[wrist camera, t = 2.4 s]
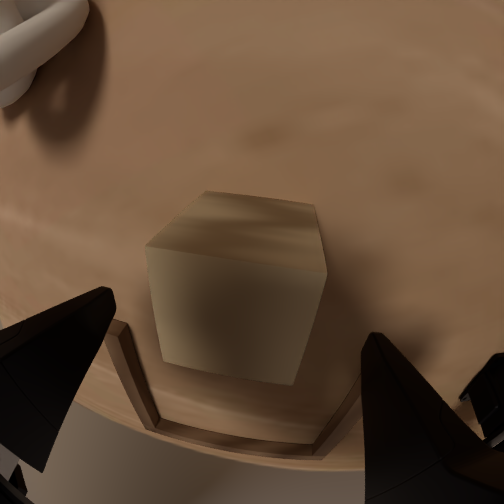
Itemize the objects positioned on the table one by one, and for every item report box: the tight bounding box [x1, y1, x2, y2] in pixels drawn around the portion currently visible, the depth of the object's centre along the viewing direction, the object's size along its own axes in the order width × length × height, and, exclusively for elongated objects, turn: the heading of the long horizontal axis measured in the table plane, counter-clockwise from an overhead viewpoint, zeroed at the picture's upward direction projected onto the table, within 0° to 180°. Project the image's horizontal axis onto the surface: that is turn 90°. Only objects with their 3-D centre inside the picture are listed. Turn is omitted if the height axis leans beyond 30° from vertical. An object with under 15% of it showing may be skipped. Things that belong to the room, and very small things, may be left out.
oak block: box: [145, 191, 328, 386], centre depth 11 cm, size 5×5×6 cm
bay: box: [104, 319, 363, 460], centre depth 20 cm, size 20×16×2 cm
